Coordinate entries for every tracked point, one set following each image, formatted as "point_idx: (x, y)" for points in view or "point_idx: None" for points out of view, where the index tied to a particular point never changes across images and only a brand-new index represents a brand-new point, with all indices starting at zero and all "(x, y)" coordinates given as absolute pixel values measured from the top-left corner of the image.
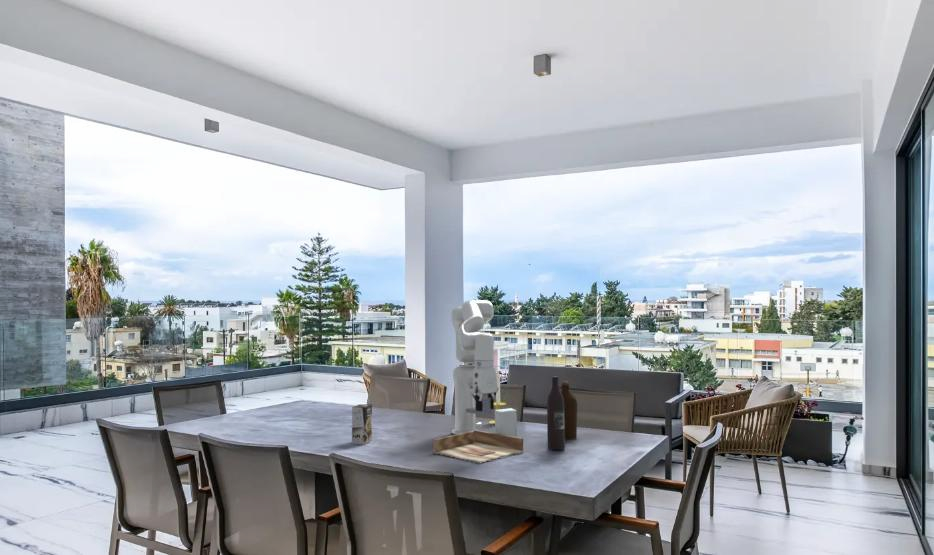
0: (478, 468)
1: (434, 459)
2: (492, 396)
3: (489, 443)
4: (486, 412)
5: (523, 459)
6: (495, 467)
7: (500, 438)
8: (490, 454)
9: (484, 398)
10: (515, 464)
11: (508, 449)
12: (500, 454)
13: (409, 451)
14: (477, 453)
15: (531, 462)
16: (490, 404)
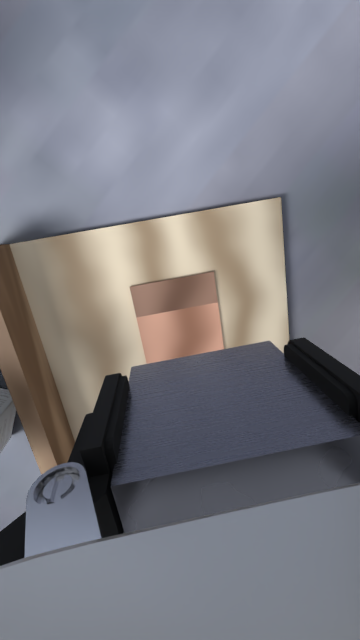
0: (333, 140)
1: (345, 360)
2: (89, 498)
3: (62, 413)
4: (203, 359)
5: (81, 131)
6: (274, 101)
7: (32, 373)
8: (167, 273)
9: (244, 496)
10: (172, 79)
11: (45, 299)
12: (133, 245)
13: None
14: (206, 309)
15: (85, 52)
16: (141, 412)
